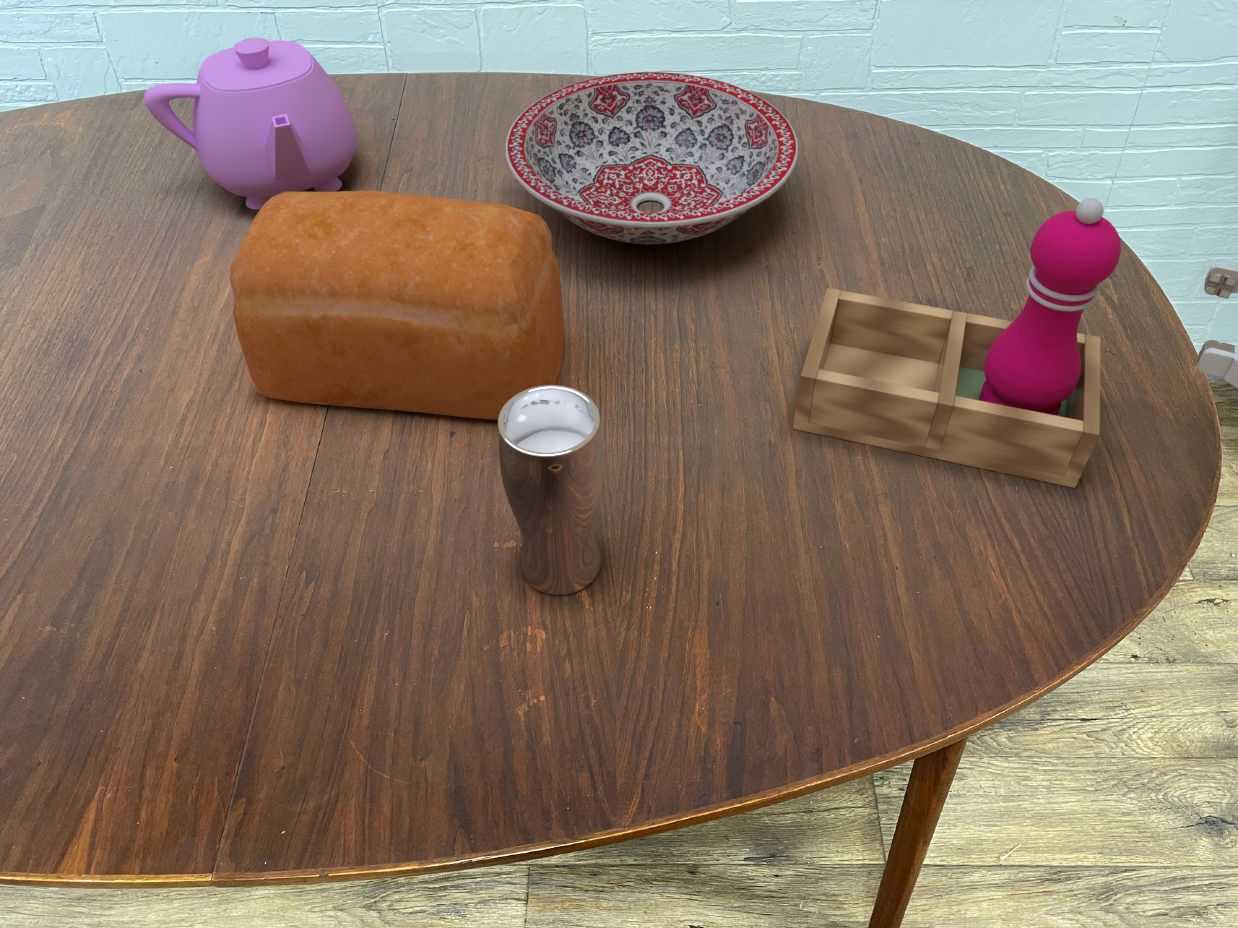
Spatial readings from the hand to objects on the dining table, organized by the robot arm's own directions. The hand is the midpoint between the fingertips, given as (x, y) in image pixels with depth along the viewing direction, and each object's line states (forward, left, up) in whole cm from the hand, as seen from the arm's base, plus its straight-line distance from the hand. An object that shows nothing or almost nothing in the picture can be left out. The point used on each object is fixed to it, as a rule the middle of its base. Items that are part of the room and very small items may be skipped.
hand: (1204, 314), depth 73 cm
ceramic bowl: (+48, -23, -15) cm, 55 cm away
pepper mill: (+9, -2, -14) cm, 17 cm away
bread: (+61, +7, -15) cm, 63 cm away
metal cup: (+41, +24, -15) cm, 49 cm away
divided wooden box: (+16, -1, -15) cm, 22 cm away
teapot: (+88, -15, -15) cm, 90 cm away
